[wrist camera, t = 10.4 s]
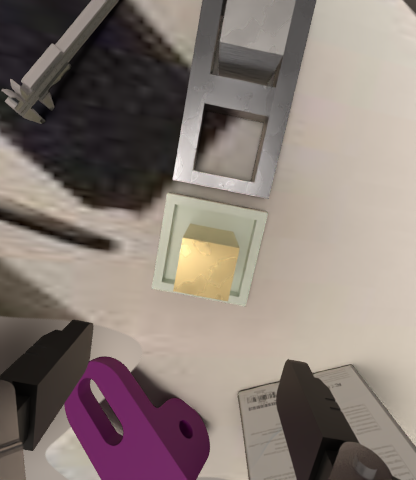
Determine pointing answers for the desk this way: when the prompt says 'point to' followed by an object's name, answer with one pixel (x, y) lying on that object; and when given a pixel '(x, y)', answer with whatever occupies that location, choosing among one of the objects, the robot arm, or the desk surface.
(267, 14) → the grey upright block
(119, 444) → the mounting bracket
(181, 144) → the grey metal frame
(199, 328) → the desk surface
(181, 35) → the desk surface
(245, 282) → the parts tray
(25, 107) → the caliper
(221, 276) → the golden yellow block
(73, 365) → the robot arm
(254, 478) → the hard drive box
